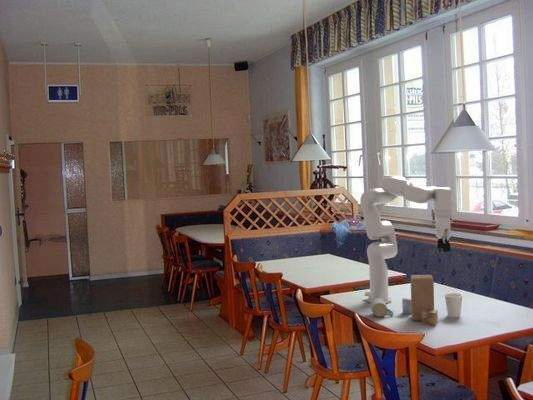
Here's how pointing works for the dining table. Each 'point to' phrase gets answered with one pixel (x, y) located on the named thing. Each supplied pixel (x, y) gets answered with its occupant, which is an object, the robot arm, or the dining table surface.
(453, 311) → the dixie cup
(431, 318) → the walnut cube
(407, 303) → the bluegrey post
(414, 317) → the block
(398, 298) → the dining table surface
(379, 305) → the ceramic mug
